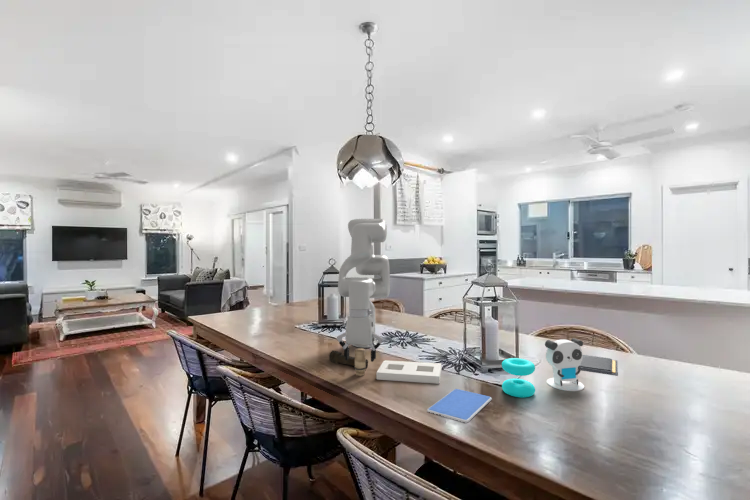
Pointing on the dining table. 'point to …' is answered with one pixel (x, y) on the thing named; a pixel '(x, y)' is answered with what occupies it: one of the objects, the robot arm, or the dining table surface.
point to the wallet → (599, 365)
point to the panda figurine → (565, 364)
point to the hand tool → (342, 358)
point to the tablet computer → (460, 405)
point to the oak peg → (360, 362)
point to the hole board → (409, 371)
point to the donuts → (518, 385)
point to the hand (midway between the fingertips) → (360, 359)
